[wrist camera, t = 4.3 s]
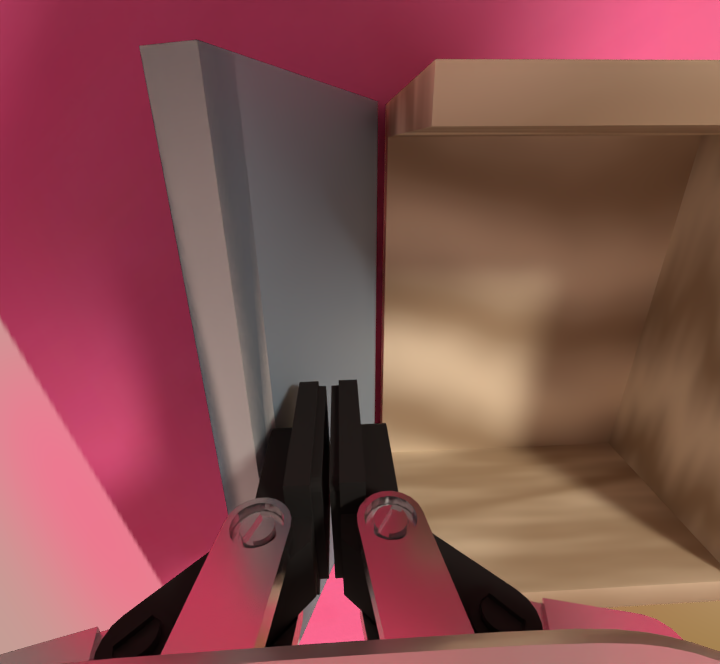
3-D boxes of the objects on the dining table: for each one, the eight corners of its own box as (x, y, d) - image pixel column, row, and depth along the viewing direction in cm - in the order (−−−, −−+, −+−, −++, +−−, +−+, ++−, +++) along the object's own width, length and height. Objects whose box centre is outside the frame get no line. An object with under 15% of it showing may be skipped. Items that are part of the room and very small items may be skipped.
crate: (385, 104, 16) (435, 59, 8) (719, 104, 17) (1077, 61, 9) (379, 457, 24) (402, 620, 16) (612, 447, 24) (753, 598, 16)
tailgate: (352, 103, 16) (138, 45, 7) (382, 102, 16) (196, 39, 7) (357, 460, 23) (256, 659, 14) (376, 465, 23) (286, 672, 14)
